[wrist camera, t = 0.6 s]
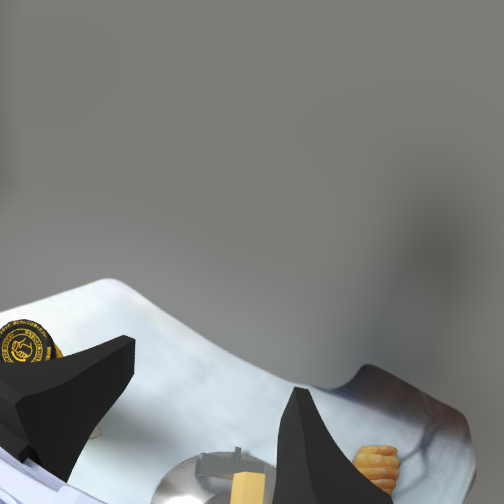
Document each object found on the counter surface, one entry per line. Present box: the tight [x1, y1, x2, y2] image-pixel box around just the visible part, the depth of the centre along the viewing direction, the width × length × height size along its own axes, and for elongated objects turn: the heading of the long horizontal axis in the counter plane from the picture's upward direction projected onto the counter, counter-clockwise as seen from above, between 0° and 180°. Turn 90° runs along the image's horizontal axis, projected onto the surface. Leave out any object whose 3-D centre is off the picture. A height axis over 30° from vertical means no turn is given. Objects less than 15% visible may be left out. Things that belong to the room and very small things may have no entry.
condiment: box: [0, 319, 101, 439], centre depth 19 cm, size 7×8×12 cm
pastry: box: [353, 445, 400, 495], centre depth 27 cm, size 9×7×4 cm
